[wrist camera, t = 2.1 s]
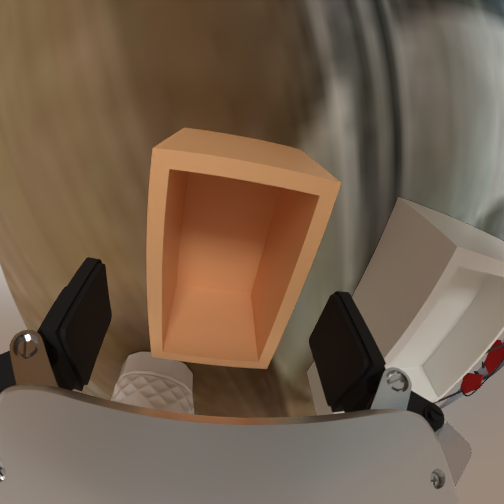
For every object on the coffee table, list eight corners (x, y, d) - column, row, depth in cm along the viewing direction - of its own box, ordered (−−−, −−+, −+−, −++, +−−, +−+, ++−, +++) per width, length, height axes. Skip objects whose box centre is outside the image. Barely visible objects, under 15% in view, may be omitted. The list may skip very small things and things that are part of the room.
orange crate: (184, 127, 12) (152, 147, 7) (299, 148, 13) (341, 183, 8) (168, 283, 17) (151, 356, 12) (257, 295, 18) (266, 369, 13)
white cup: (211, 387, 24) (211, 479, 16) (144, 392, 25) (133, 474, 17) (177, 340, 20) (164, 459, 12) (103, 350, 21) (76, 446, 12)
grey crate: (398, 196, 15) (457, 246, 10) (502, 240, 18) (539, 275, 13) (306, 372, 24) (319, 426, 19) (419, 363, 27) (437, 401, 22)
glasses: (459, 380, 36) (468, 399, 32) (398, 402, 34) (407, 426, 30) (499, 331, 29) (513, 351, 24) (442, 350, 27) (458, 378, 23)
